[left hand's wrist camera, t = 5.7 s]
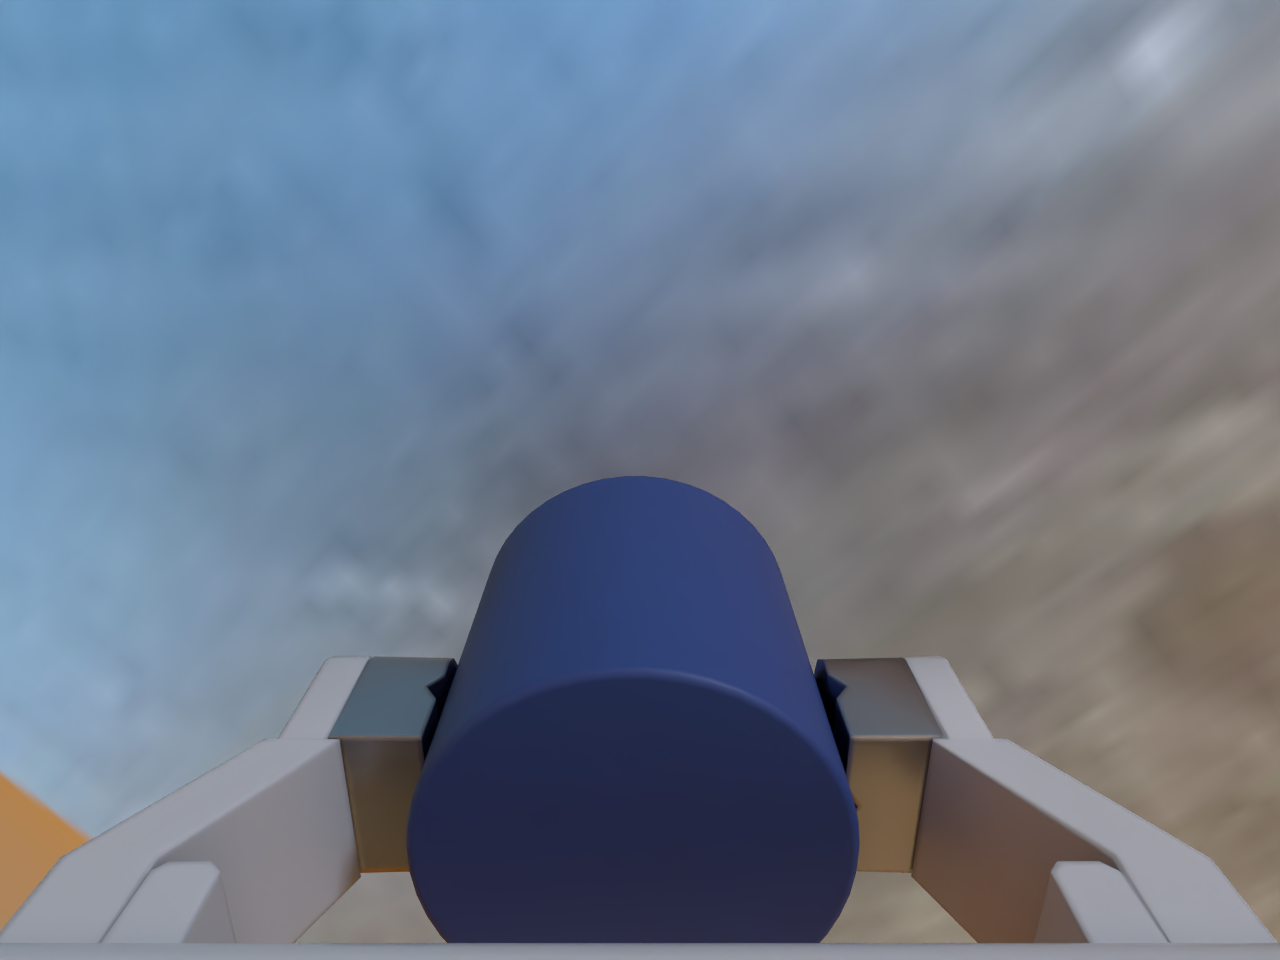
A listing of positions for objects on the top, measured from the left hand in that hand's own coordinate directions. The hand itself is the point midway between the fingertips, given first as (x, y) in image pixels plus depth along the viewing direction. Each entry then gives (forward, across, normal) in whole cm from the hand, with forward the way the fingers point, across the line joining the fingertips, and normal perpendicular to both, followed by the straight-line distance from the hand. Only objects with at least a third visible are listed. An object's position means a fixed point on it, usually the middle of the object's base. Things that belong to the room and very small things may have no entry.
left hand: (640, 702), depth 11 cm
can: (+2, 0, 0) cm, 2 cm away
